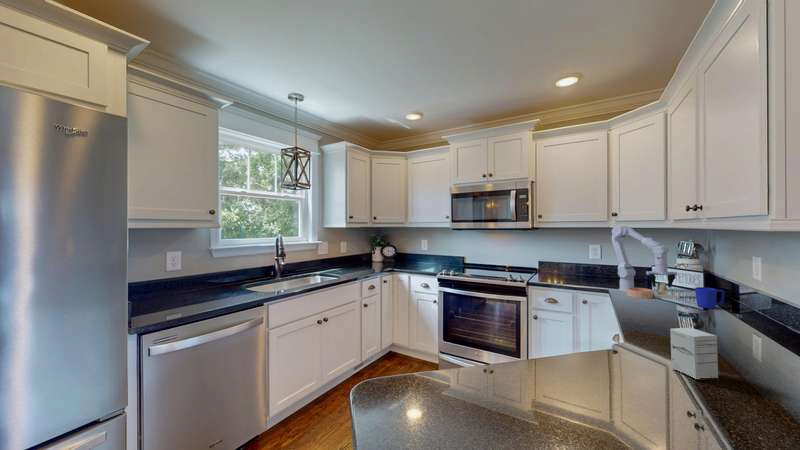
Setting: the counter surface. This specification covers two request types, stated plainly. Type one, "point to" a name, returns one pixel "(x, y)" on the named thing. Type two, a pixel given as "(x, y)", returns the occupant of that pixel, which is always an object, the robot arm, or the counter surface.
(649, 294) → the orange peg base
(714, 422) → the counter surface
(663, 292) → the peg
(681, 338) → the supplement box
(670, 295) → the tray
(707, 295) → the mug
